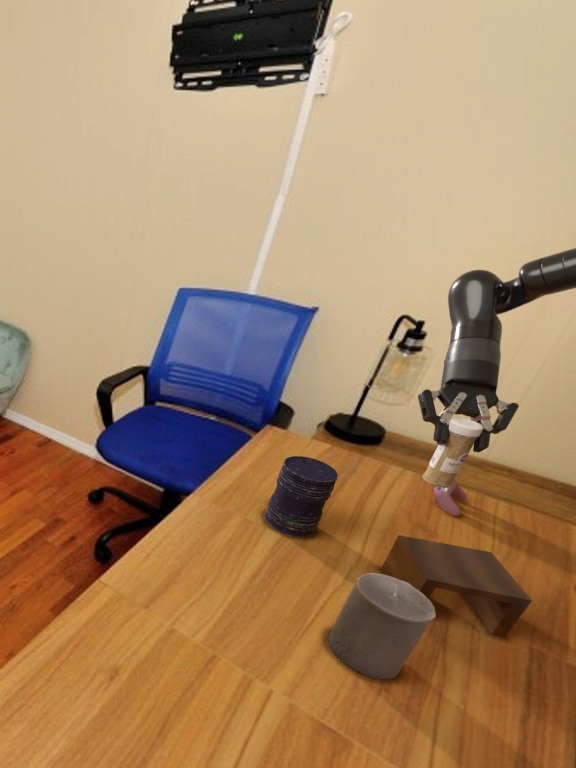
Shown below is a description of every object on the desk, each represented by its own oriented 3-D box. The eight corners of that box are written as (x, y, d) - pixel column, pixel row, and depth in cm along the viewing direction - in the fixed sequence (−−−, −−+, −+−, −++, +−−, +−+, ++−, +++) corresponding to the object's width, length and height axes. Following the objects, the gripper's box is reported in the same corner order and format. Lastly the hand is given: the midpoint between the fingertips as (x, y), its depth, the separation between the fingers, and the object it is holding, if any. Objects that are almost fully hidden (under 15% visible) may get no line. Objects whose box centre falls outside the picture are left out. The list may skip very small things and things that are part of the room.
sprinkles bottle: (446, 491, 98) (479, 431, 92) (417, 479, 101) (446, 421, 95) (455, 483, 100) (488, 424, 94) (426, 472, 103) (456, 414, 97)
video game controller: (442, 499, 124) (436, 472, 123) (468, 500, 120) (463, 472, 119) (433, 516, 118) (427, 488, 117) (461, 517, 114) (455, 489, 114)
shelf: (468, 587, 97) (491, 552, 93) (504, 637, 87) (532, 600, 83) (380, 569, 102) (398, 534, 98) (405, 615, 92) (426, 579, 88)
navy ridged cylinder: (323, 539, 109) (349, 483, 102) (274, 535, 111) (296, 480, 104) (302, 510, 118) (323, 457, 111) (256, 507, 120) (275, 454, 113)
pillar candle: (319, 650, 86) (351, 587, 79) (337, 619, 91) (368, 557, 84) (391, 692, 79) (433, 626, 72) (406, 656, 84) (446, 592, 78)
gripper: (431, 352, 98) (419, 432, 95) (534, 364, 92) (525, 451, 88) (414, 367, 105) (402, 443, 101) (510, 380, 98) (500, 462, 95)
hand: (459, 447), depth 95 cm, fingers closed on sprinkles bottle, 4 cm apart
